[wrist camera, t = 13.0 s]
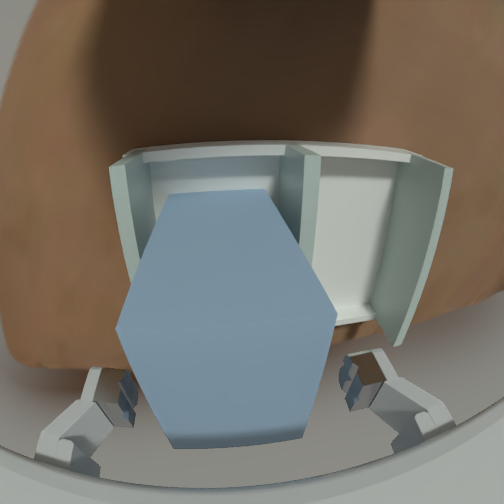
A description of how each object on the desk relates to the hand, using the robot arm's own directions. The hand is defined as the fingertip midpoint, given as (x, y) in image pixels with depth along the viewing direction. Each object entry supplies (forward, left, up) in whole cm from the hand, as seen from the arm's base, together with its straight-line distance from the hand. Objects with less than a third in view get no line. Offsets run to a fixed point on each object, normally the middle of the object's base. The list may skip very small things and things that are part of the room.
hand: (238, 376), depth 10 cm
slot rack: (-4, 0, -12) cm, 13 cm away
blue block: (0, 0, -11) cm, 11 cm away
